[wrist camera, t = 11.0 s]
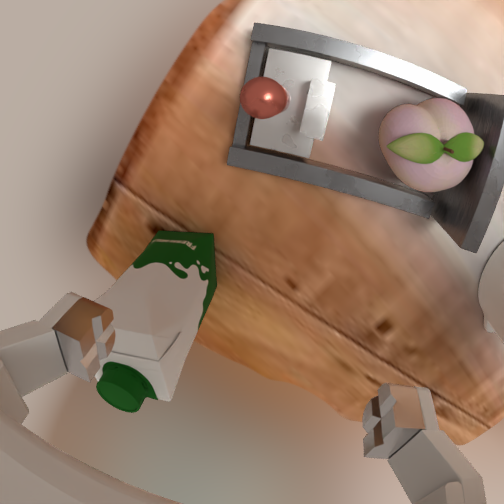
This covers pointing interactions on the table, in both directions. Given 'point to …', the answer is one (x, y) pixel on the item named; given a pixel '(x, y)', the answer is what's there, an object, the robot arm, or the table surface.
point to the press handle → (289, 102)
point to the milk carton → (156, 317)
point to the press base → (332, 177)
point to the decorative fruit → (429, 144)
